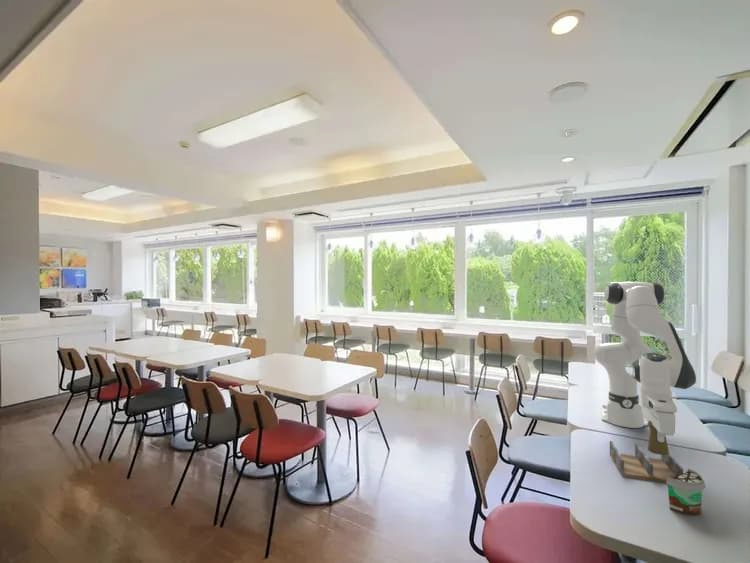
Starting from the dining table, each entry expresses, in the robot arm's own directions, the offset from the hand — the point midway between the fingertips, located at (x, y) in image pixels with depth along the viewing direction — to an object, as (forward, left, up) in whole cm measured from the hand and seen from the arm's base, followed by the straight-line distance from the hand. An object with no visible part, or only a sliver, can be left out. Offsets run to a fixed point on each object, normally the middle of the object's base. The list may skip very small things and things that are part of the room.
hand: (657, 437), depth 125 cm
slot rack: (0, -4, -12) cm, 13 cm away
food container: (+23, +1, -12) cm, 26 cm away
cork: (0, 0, -5) cm, 5 cm away
